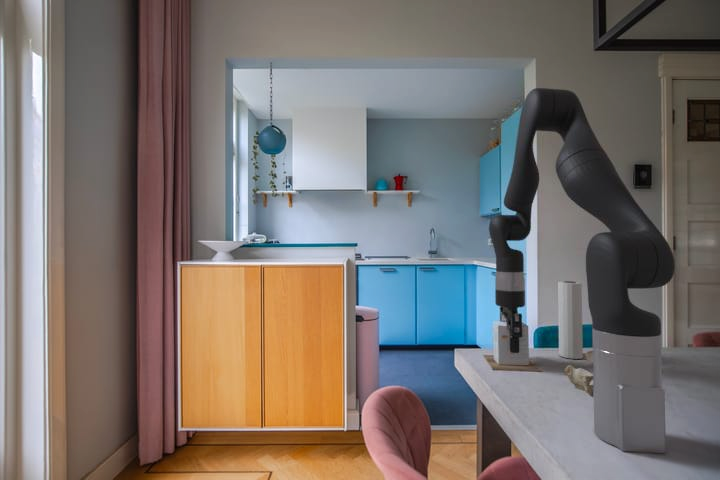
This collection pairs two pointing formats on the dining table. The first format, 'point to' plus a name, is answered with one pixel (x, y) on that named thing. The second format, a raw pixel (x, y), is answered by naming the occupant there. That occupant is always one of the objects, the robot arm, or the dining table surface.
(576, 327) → the paper towel roll
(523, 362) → the small box
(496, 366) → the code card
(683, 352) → the dining table surface
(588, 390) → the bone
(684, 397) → the dining table surface
